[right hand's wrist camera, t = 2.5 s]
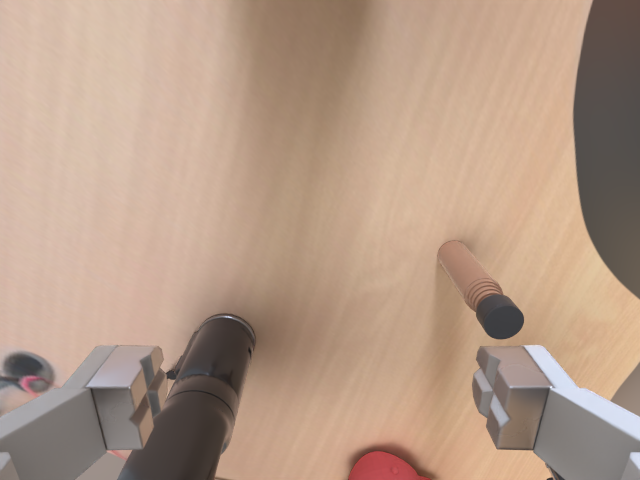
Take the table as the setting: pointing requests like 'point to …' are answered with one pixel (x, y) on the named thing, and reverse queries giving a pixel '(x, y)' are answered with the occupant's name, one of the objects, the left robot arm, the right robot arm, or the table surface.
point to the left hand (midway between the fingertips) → (546, 457)
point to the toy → (383, 468)
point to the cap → (499, 316)
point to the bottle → (467, 273)
